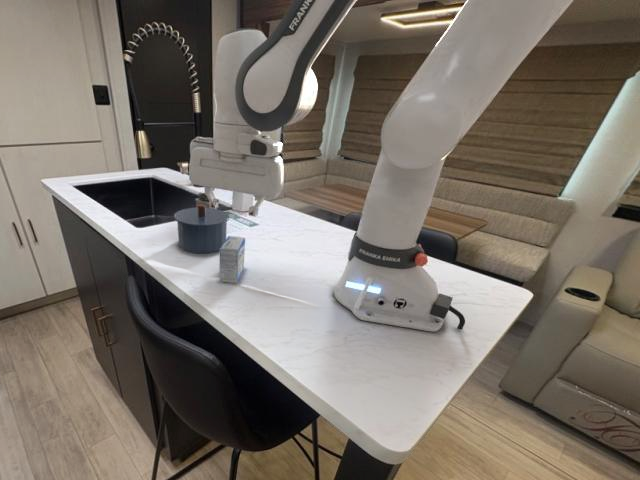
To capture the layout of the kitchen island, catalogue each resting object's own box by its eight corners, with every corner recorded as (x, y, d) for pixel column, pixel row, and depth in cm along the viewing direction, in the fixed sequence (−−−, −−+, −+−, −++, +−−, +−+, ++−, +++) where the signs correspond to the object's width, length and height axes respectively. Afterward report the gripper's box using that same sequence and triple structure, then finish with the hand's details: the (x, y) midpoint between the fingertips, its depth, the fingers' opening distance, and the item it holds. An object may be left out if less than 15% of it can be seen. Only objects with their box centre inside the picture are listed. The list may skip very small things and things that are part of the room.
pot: (233, 242, 92) (234, 214, 88) (212, 260, 82) (212, 229, 77) (194, 234, 96) (194, 207, 92) (169, 249, 86) (167, 219, 81)
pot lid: (237, 216, 88) (238, 203, 86) (213, 233, 77) (213, 217, 74) (192, 208, 93) (192, 195, 91) (163, 222, 81) (161, 207, 79)
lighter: (193, 221, 107) (192, 191, 101) (200, 218, 109) (199, 189, 103) (211, 226, 103) (211, 196, 97) (218, 224, 105) (218, 194, 100)
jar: (253, 212, 118) (255, 179, 112) (231, 211, 118) (233, 178, 111) (251, 205, 126) (253, 174, 119) (231, 204, 125) (232, 173, 119)
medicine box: (237, 284, 71) (239, 250, 67) (218, 281, 72) (219, 247, 67) (243, 269, 78) (245, 237, 73) (226, 267, 79) (227, 235, 74)
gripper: (181, 136, 60) (184, 207, 68) (281, 148, 54) (272, 224, 61) (197, 134, 65) (199, 200, 73) (291, 144, 59) (281, 216, 66)
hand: (233, 211), depth 67 cm, fingers open, 8 cm apart
